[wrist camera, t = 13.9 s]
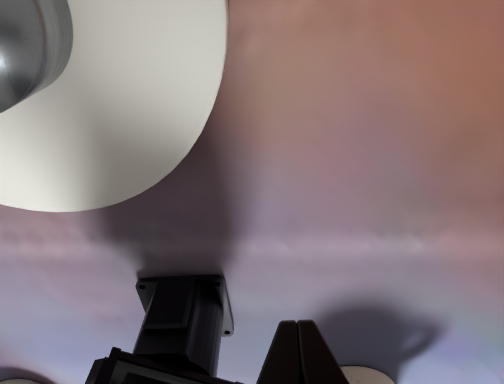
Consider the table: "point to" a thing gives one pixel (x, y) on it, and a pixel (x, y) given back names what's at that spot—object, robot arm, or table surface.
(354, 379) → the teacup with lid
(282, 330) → the robot arm
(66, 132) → the turntable
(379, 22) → the table surface
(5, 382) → the bread roll
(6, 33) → the cover
